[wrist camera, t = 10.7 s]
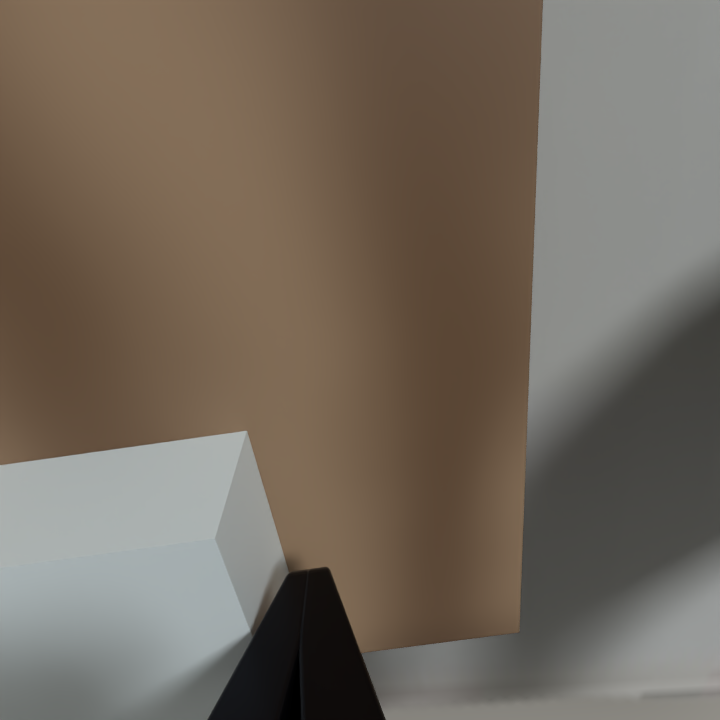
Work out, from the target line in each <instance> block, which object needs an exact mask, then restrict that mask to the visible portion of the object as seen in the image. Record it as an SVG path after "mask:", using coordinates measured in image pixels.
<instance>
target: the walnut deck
mask: <svg viewBox="0 0 720 720" xmlns="http://www.w3.org/2000/svg"><path fill="white" fill-rule="evenodd" d="M542 9H543V0H0V465H6V464H13V463H20V462H27V461H34V460H41V459H49V458H56V457H63V456H70V455H77V454H84V453H91V452H98V451H106V450H113V449H120V448H127V447H134V446H141V445H148V444H155V443H163V442H170V441H177V440H184V439H191V438H198V437H205V436H212V435H220V434H227V433H234V432H241V431H247V433H248V436H249V439H250V443H251V446H252V449H253V453H254V456H255V460H256V463H257V466H258V470H259V473H260V476H261V480H262V483H263V487H264V490H265V493H266V497H267V500H268V503H269V507H270V510H271V513H272V517H273V520H274V524H275V527H276V530H277V534H278V537H279V540H280V544H281V547H282V551H283V554H284V557H285V561H286V564H287V567H288V571H289V573H290V572H292V571H297V570H305V569H312V568H320V567H328V568H329V569H330V571H331V573H332V576H333V579H334V581H335V584H336V587H337V590H338V592H339V595H340V598H341V600H342V603H343V606H344V608H345V611H346V614H347V617H348V619H349V622H350V625H351V627H352V630H353V633H354V635H355V638H356V641H357V644H358V646H359V649H360V652H361V653H365V652H372V651H380V650H388V649H395V648H403V647H411V646H419V645H426V644H434V643H442V642H449V641H457V640H465V639H472V638H480V637H488V636H496V635H503V634H511V633H519V627H520V601H521V574H522V547H523V520H524V493H525V466H526V439H527V412H528V386H529V359H530V332H531V305H532V278H533V251H534V224H535V197H536V171H537V144H538V117H539V90H540V63H541V36H542Z"/></svg>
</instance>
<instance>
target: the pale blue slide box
mask: <svg viewBox="0 0 720 720" xmlns="http://www.w3.org/2000/svg"><path fill="white" fill-rule="evenodd" d="M288 573H289V571H288V567H287V564H286V561H285V557H284V554H283V551H282V547H281V544H280V540H279V537H278V534H277V530H276V527H275V524H274V520H273V517H272V513H271V510H270V507H269V503H268V500H267V497H266V493H265V490H264V487H263V483H262V480H261V476H260V473H259V470H258V466H257V463H256V460H255V456H254V453H253V449H252V446H251V443H250V439H249V436H248V433H247V431H241V432H234V433H227V434H220V435H212V436H205V437H198V438H191V439H184V440H177V441H170V442H163V443H155V444H148V445H141V446H134V447H127V448H120V449H113V450H106V451H98V452H91V453H84V454H77V455H70V456H63V457H56V458H49V459H41V460H34V461H27V462H20V463H13V464H6V465H0V720H207V719H208V717H209V715H210V714H211V712H212V710H213V708H214V706H215V704H216V703H217V701H218V699H219V697H220V695H221V694H222V692H223V690H224V688H225V686H226V684H227V683H228V681H229V679H230V677H231V675H232V674H233V672H234V670H235V668H236V666H237V664H238V663H239V661H240V659H241V657H242V655H243V654H244V652H245V650H246V648H247V646H248V644H249V643H250V641H251V639H252V637H253V635H254V634H255V632H256V630H257V628H258V626H259V624H260V623H261V621H262V619H263V617H264V615H265V614H266V612H267V610H268V608H269V606H270V604H271V603H272V601H273V599H274V597H275V595H276V594H277V592H278V590H279V588H280V586H281V584H282V583H283V581H284V579H285V577H286V576H287V574H288Z"/></svg>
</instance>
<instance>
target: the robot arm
mask: <svg viewBox="0 0 720 720" xmlns="http://www.w3.org/2000/svg"><path fill="white" fill-rule="evenodd" d="M207 720H386V719H385V717H384V714H383V711H382V708H381V706H380V703H379V700H378V698H377V695H376V692H375V690H374V687H373V684H372V681H371V679H370V676H369V673H368V671H367V668H366V665H365V663H364V660H363V657H362V654H361V652H360V649H359V646H358V644H357V641H356V638H355V635H354V633H353V630H352V627H351V625H350V622H349V619H348V617H347V614H346V611H345V608H344V606H343V603H342V600H341V598H340V595H339V592H338V590H337V587H336V584H335V581H334V579H333V576H332V573H331V571H330V569H329V568H328V567H320V568H312V569H305V570H297V571H292V572H290V573H288V574H287V576H286V577H285V579H284V581H283V583H282V584H281V586H280V588H279V590H278V592H277V594H276V595H275V597H274V599H273V601H272V603H271V604H270V606H269V608H268V610H267V612H266V614H265V615H264V617H263V619H262V621H261V623H260V624H259V626H258V628H257V630H256V632H255V634H254V635H253V637H252V639H251V641H250V643H249V644H248V646H247V648H246V650H245V652H244V654H243V655H242V657H241V659H240V661H239V663H238V664H237V666H236V668H235V670H234V672H233V674H232V675H231V677H230V679H229V681H228V683H227V684H226V686H225V688H224V690H223V692H222V694H221V695H220V697H219V699H218V701H217V703H216V704H215V706H214V708H213V710H212V712H211V714H210V715H209V717H208V719H207Z"/></svg>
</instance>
